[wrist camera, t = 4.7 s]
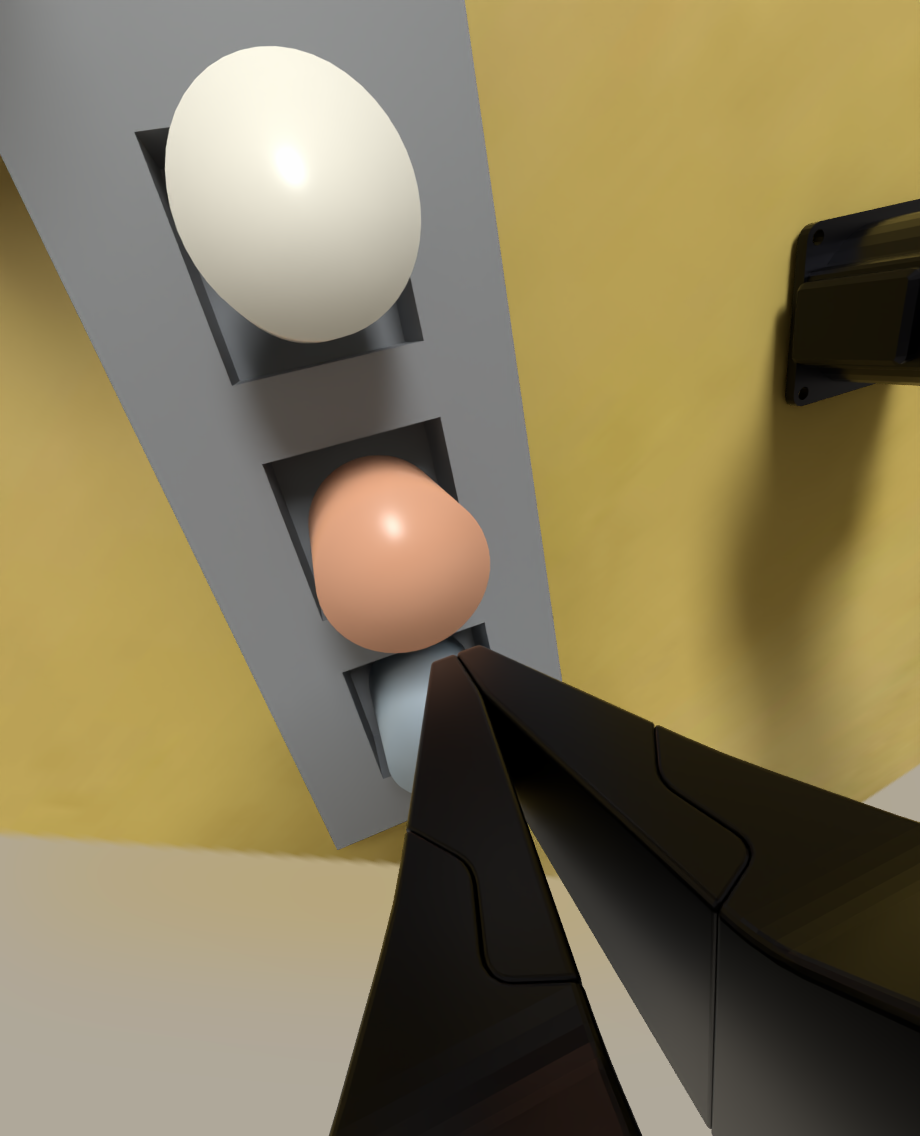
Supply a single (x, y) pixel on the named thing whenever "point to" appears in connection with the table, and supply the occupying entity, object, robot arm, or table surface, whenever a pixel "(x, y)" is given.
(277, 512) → the grey socket tray
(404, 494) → the peach rounded piece
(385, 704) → the slate button
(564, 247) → the table surface
